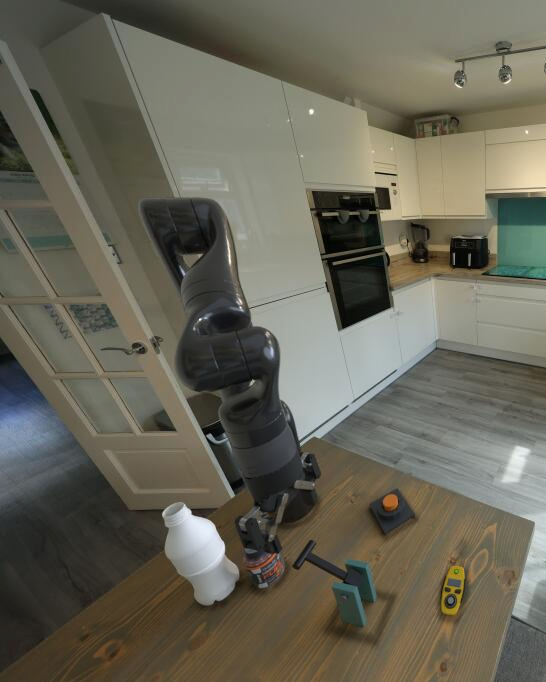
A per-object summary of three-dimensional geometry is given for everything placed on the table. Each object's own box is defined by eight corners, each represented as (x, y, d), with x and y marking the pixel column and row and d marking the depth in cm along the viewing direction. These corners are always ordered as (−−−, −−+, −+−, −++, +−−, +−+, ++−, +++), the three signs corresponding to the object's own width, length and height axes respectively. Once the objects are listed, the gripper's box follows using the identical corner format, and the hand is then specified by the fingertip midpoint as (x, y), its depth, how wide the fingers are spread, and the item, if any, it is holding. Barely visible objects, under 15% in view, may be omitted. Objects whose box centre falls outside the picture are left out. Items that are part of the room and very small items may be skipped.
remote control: (436, 611, 61) (453, 536, 74) (436, 616, 61) (453, 541, 75) (460, 616, 60) (473, 539, 73) (460, 621, 61) (473, 544, 74)
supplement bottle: (271, 595, 65) (255, 562, 60) (247, 588, 66) (229, 555, 61) (292, 565, 70) (279, 532, 65) (270, 559, 71) (255, 526, 66)
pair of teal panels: (328, 628, 60) (313, 590, 54) (348, 587, 66) (337, 550, 60) (376, 641, 58) (366, 603, 53) (392, 598, 64) (385, 560, 59)
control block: (370, 509, 82) (368, 499, 81) (398, 493, 87) (396, 483, 85) (386, 538, 75) (384, 528, 74) (415, 519, 80) (414, 508, 78)
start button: (381, 504, 80) (380, 499, 79) (394, 496, 82) (393, 491, 81) (387, 514, 77) (386, 509, 77) (400, 505, 79) (399, 501, 79)
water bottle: (195, 618, 61) (137, 536, 50) (204, 582, 67) (154, 501, 56) (239, 598, 64) (193, 517, 53) (245, 565, 70) (204, 486, 59)
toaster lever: (290, 568, 55) (293, 562, 54) (307, 543, 59) (311, 537, 58) (350, 600, 56) (354, 595, 55) (363, 573, 60) (367, 568, 59)
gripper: (282, 421, 54) (303, 488, 60) (200, 490, 41) (239, 564, 48) (320, 427, 52) (338, 494, 59) (249, 499, 40) (282, 575, 46)
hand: (294, 525), depth 53 cm, fingers open, 8 cm apart
